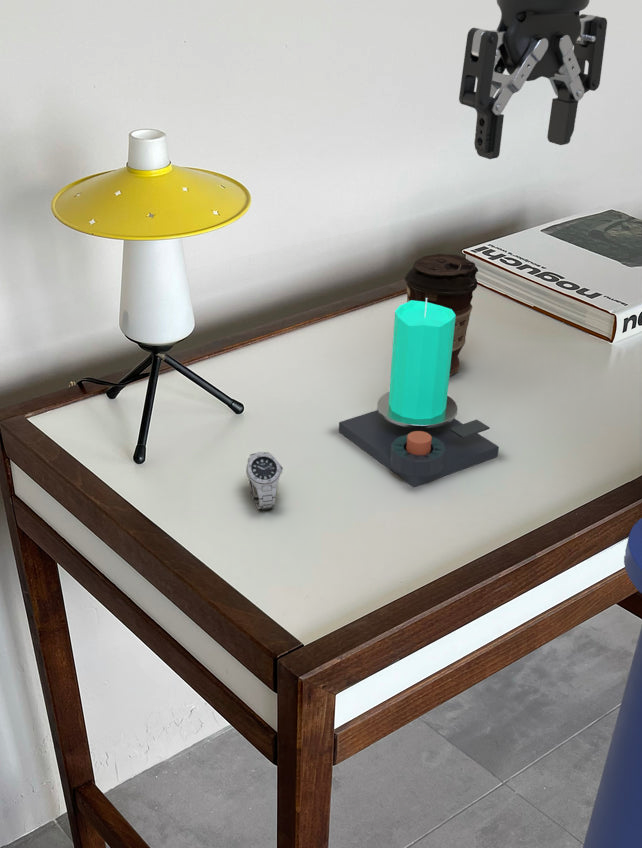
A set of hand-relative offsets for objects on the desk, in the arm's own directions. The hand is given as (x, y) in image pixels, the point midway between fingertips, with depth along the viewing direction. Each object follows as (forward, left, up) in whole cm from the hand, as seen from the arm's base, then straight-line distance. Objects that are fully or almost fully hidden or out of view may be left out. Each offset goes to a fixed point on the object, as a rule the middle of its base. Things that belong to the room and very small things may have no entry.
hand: (523, 149), depth 91 cm
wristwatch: (+3, +26, -30) cm, 40 cm away
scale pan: (+3, +6, -27) cm, 28 cm away
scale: (+3, +7, -30) cm, 31 cm away
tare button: (-1, +11, -27) cm, 29 cm away
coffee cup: (+16, -6, -30) cm, 35 cm away
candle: (+5, +6, -27) cm, 28 cm away
